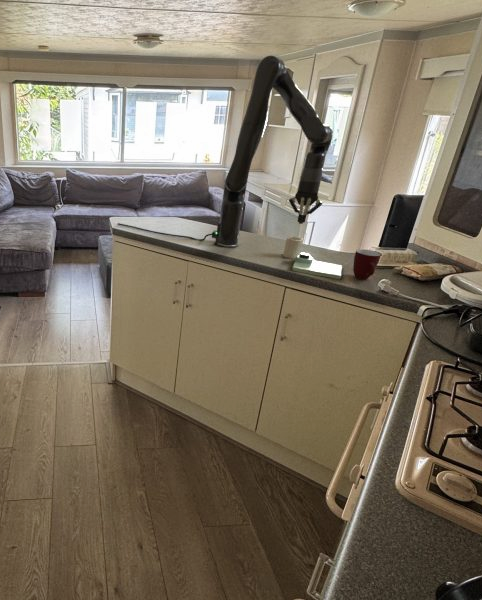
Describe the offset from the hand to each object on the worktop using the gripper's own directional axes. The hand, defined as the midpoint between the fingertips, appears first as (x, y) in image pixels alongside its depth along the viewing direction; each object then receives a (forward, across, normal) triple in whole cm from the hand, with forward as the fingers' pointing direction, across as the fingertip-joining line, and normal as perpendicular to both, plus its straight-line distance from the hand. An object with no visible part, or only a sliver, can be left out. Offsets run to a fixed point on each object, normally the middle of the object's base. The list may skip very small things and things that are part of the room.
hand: (300, 223), depth 174 cm
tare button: (+12, -4, +6) cm, 14 cm away
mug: (+15, -25, +14) cm, 32 cm away
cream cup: (+15, +1, -2) cm, 15 cm away
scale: (+15, -9, +11) cm, 21 cm away
